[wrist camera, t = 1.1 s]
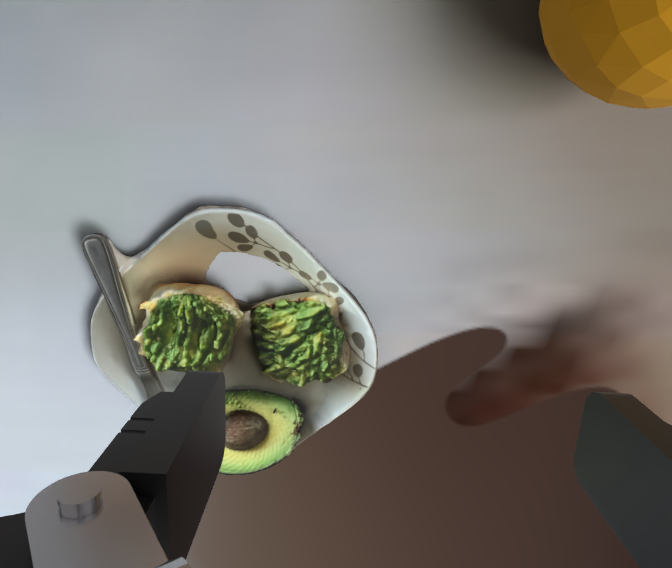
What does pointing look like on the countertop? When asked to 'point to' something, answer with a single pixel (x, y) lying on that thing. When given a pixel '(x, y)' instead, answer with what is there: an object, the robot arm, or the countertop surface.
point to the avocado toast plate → (232, 332)
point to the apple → (613, 48)
